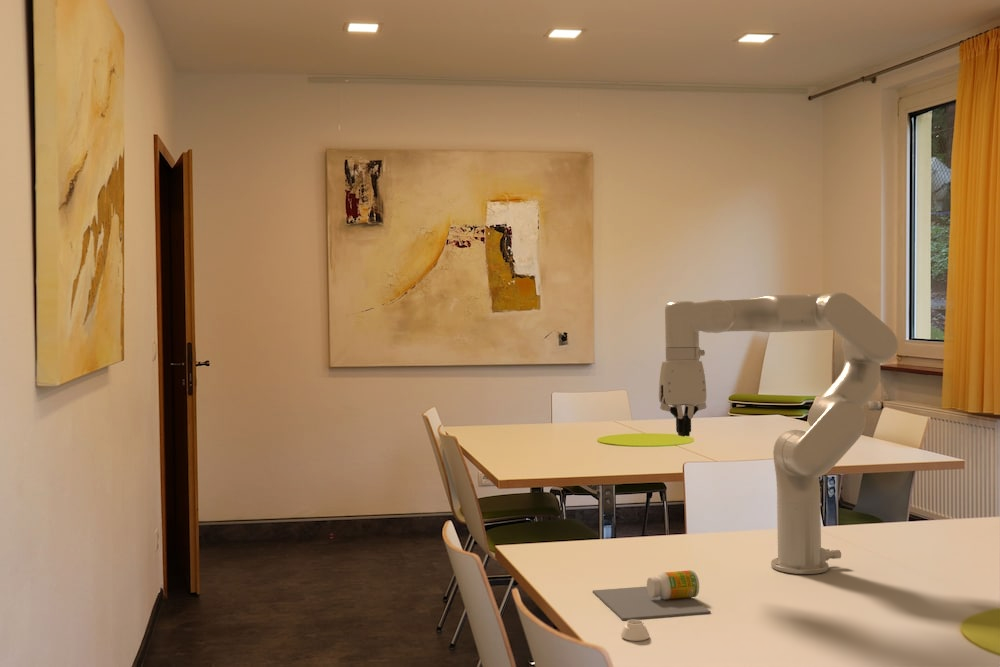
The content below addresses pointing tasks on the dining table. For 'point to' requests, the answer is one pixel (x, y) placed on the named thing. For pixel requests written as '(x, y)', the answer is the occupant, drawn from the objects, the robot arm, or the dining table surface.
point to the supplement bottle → (674, 585)
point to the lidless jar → (635, 631)
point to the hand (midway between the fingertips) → (683, 435)
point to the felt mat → (646, 604)
